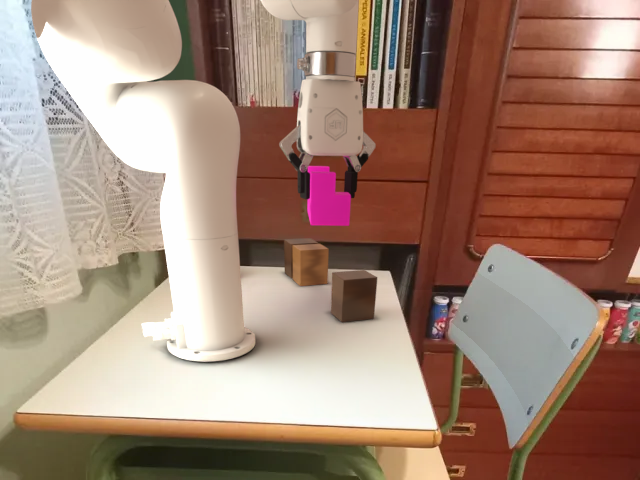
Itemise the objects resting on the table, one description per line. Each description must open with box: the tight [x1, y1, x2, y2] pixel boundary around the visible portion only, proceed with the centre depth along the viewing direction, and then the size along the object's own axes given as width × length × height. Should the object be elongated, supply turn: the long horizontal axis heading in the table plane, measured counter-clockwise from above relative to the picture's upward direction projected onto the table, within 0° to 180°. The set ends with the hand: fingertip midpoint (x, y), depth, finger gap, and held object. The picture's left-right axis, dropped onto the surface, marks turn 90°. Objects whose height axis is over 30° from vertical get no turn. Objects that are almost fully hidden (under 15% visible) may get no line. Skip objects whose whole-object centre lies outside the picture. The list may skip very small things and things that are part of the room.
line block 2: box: [330, 269, 378, 323], centre depth 81 cm, size 6×5×7 cm
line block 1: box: [283, 237, 319, 279], centre depth 103 cm, size 6×5×7 cm
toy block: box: [306, 165, 352, 227], centre depth 82 cm, size 15×6×8 cm, turn 3°
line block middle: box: [292, 243, 329, 287], centre depth 98 cm, size 6×5×7 cm
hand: (327, 197), depth 82 cm, fingers closed on toy block, 7 cm apart
